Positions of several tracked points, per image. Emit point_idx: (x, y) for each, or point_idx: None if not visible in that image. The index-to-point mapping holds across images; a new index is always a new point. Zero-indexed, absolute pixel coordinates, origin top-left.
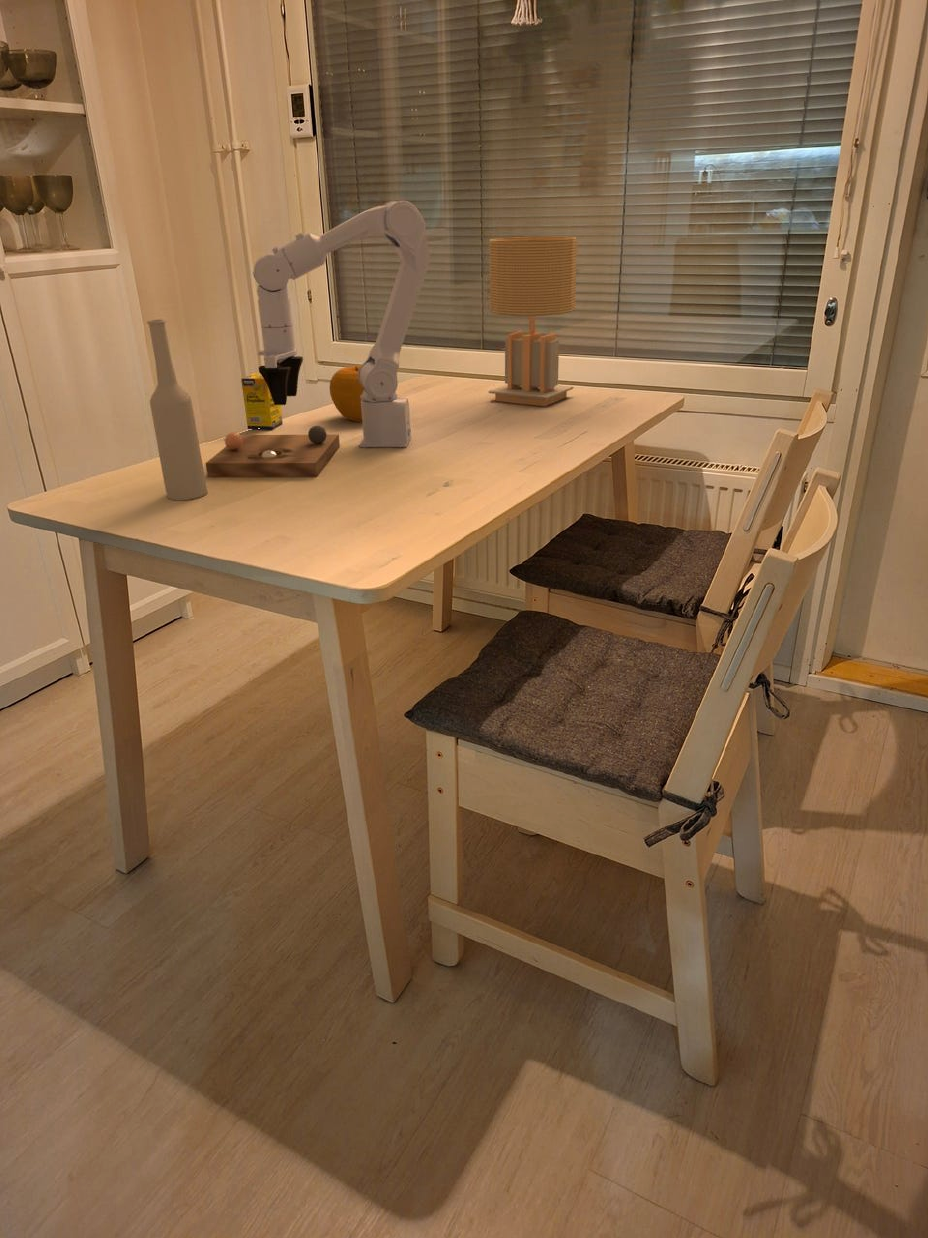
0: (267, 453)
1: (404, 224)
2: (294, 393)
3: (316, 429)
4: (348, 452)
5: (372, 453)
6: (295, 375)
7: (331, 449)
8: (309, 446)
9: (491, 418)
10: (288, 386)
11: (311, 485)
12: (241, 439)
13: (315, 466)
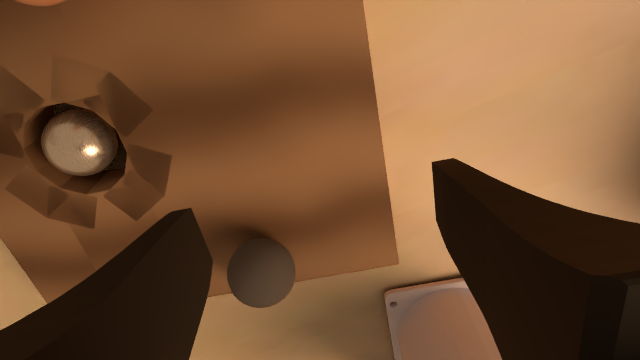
0: (48, 158)
1: None
2: (441, 226)
3: (237, 297)
4: (332, 279)
5: (334, 332)
6: (494, 332)
7: None
8: (222, 238)
9: None
10: (455, 223)
11: (11, 306)
12: (46, 4)
13: None
